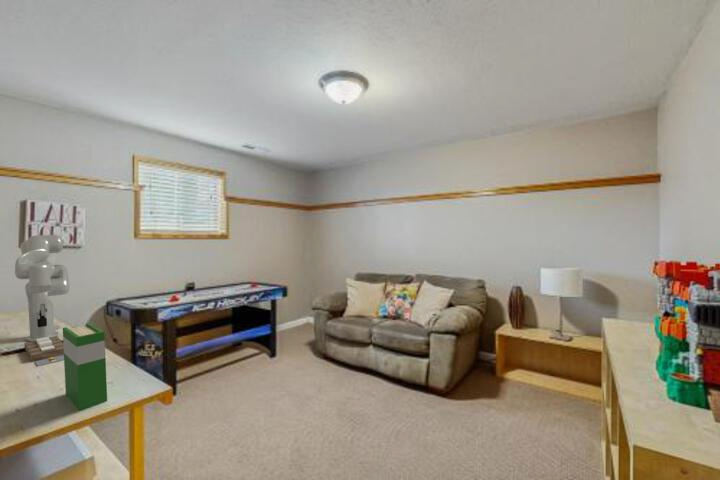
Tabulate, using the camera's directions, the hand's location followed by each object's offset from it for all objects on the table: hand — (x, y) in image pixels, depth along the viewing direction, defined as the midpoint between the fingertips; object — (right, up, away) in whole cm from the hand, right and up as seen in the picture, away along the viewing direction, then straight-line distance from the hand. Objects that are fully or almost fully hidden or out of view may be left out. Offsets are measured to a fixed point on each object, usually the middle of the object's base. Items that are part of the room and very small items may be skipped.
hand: (42, 326), depth 163 cm
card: (+19, -11, -15) cm, 27 cm away
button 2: (+10, -10, -8) cm, 16 cm away
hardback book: (+61, -13, -48) cm, 79 cm away
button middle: (+5, -9, -4) cm, 11 cm away
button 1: (0, -9, +1) cm, 9 cm away
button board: (+5, -11, -3) cm, 13 cm away
